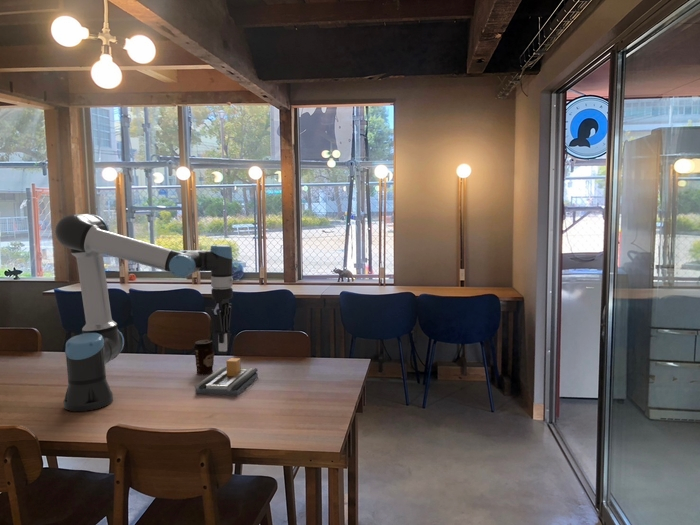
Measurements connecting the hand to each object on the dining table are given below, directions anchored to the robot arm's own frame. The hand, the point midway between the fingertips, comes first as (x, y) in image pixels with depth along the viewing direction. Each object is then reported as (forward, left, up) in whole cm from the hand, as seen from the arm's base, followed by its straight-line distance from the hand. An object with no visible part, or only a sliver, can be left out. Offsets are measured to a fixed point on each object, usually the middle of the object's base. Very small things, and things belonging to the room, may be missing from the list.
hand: (222, 350), depth 197 cm
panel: (+2, -1, -14) cm, 14 cm away
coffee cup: (+14, +14, -14) cm, 24 cm away
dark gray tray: (+2, -1, -12) cm, 12 cm away
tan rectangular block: (+8, -1, -12) cm, 14 cm away
